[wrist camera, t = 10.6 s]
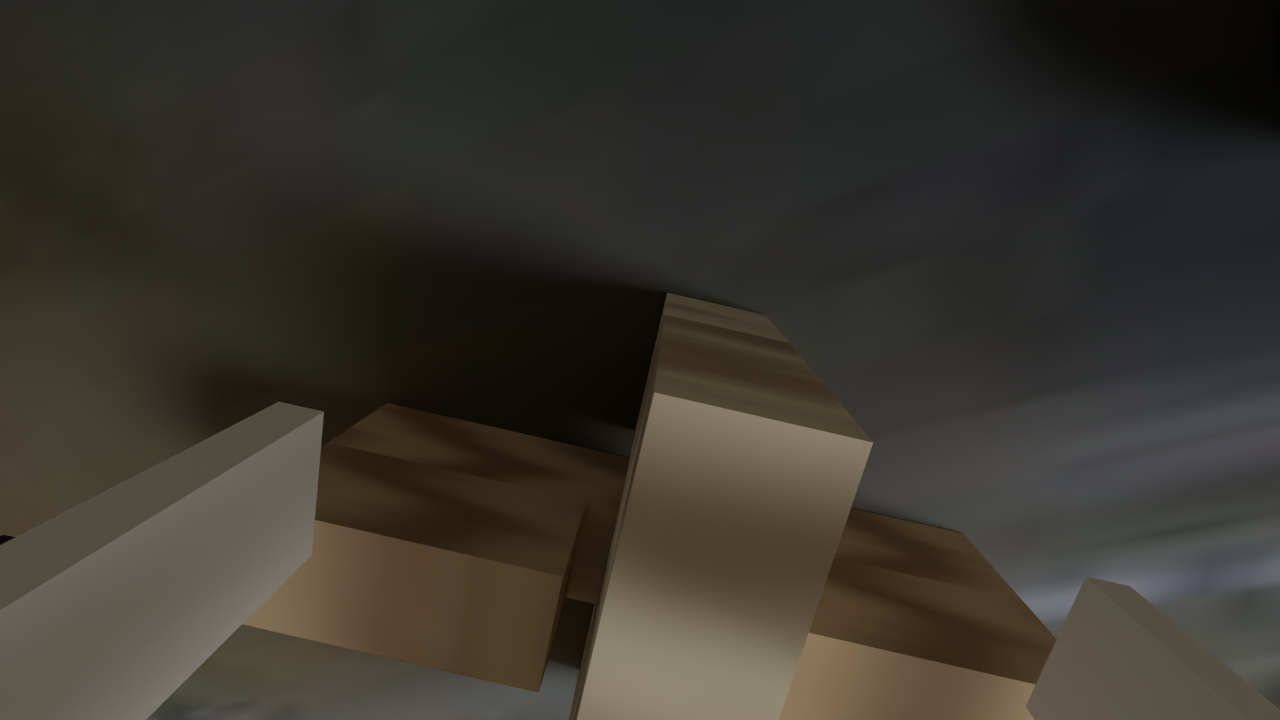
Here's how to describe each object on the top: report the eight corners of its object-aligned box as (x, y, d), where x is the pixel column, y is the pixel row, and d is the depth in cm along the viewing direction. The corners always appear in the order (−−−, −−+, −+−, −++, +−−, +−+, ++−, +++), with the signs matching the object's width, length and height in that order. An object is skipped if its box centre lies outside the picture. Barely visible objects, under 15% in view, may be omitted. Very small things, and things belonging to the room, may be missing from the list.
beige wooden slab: (662, 689, 25) (648, 1104, 13) (579, 669, 25) (494, 1067, 13) (765, 315, 21) (873, 442, 9) (667, 292, 21) (654, 391, 9)
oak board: (377, 486, 24) (230, 621, 16) (387, 402, 23) (237, 501, 15) (931, 612, 23) (1057, 811, 16) (962, 533, 23) (1112, 702, 15)
